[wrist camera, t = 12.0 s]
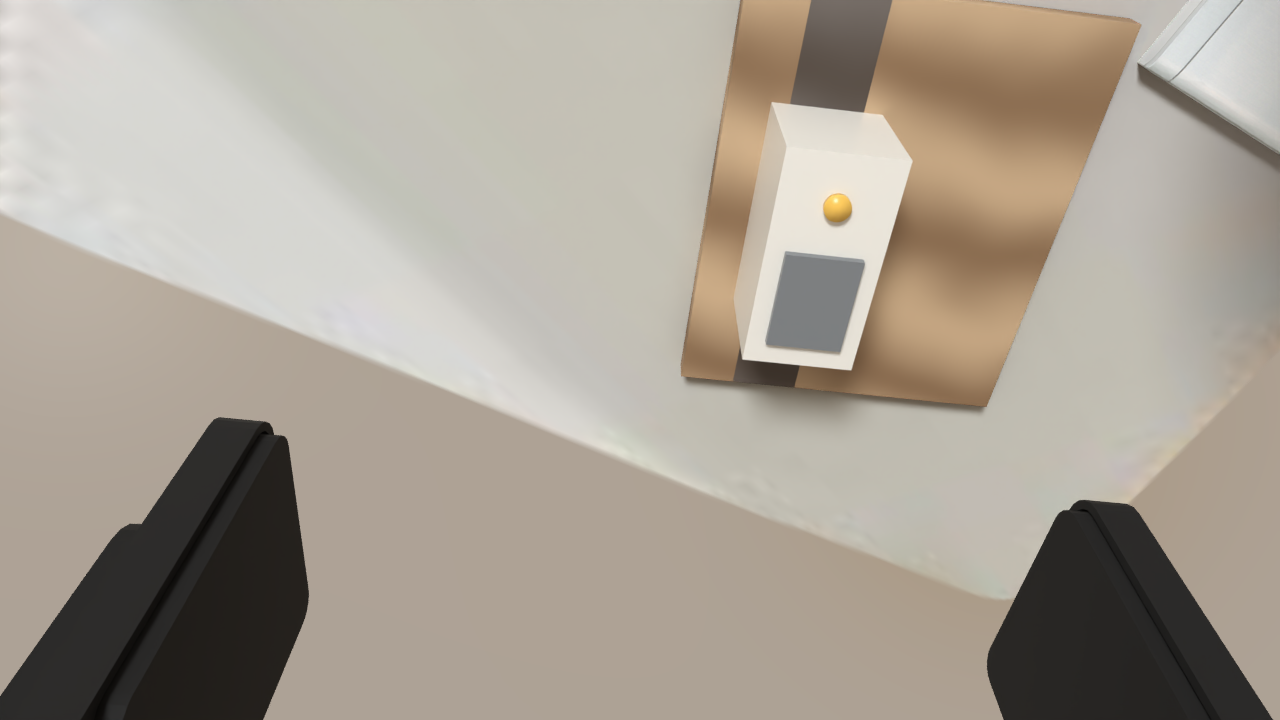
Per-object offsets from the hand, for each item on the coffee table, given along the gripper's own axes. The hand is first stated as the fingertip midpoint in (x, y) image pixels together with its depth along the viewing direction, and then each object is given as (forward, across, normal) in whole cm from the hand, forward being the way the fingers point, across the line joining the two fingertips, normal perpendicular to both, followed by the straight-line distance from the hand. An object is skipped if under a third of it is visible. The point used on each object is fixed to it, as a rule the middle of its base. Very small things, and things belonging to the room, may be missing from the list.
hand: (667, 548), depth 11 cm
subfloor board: (+28, -10, +7) cm, 31 cm away
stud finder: (+27, -7, +7) cm, 29 cm away
